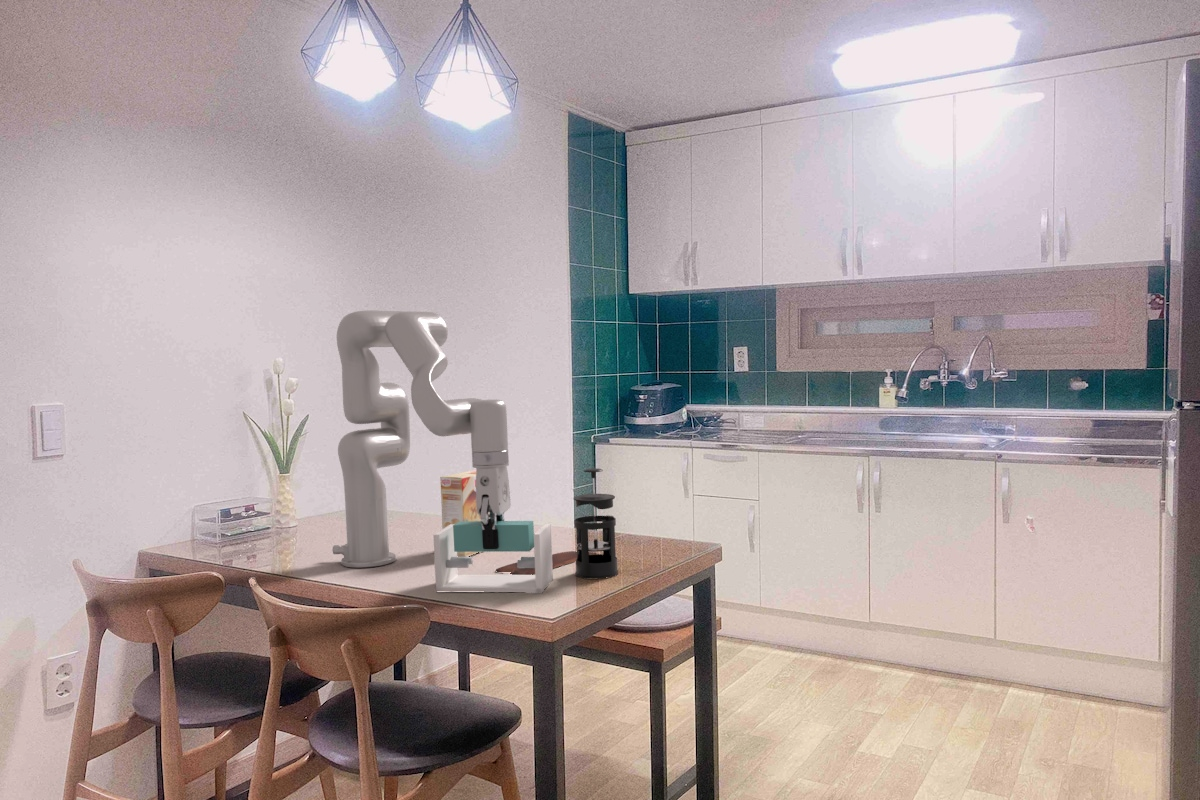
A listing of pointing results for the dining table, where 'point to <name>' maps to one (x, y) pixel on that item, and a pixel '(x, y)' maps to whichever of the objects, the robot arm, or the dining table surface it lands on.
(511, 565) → the wooden tablet
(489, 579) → the peg frame
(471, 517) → the coffeecake box
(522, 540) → the plank
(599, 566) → the french press
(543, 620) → the dining table surface
